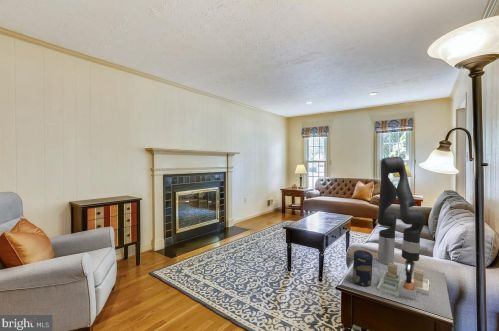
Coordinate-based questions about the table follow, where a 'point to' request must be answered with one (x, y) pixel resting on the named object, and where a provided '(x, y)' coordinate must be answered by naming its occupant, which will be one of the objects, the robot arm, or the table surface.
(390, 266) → the billet
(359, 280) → the canister
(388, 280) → the board
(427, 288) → the pale shallow tray
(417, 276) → the billet
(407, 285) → the button
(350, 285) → the table surface
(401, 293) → the console
